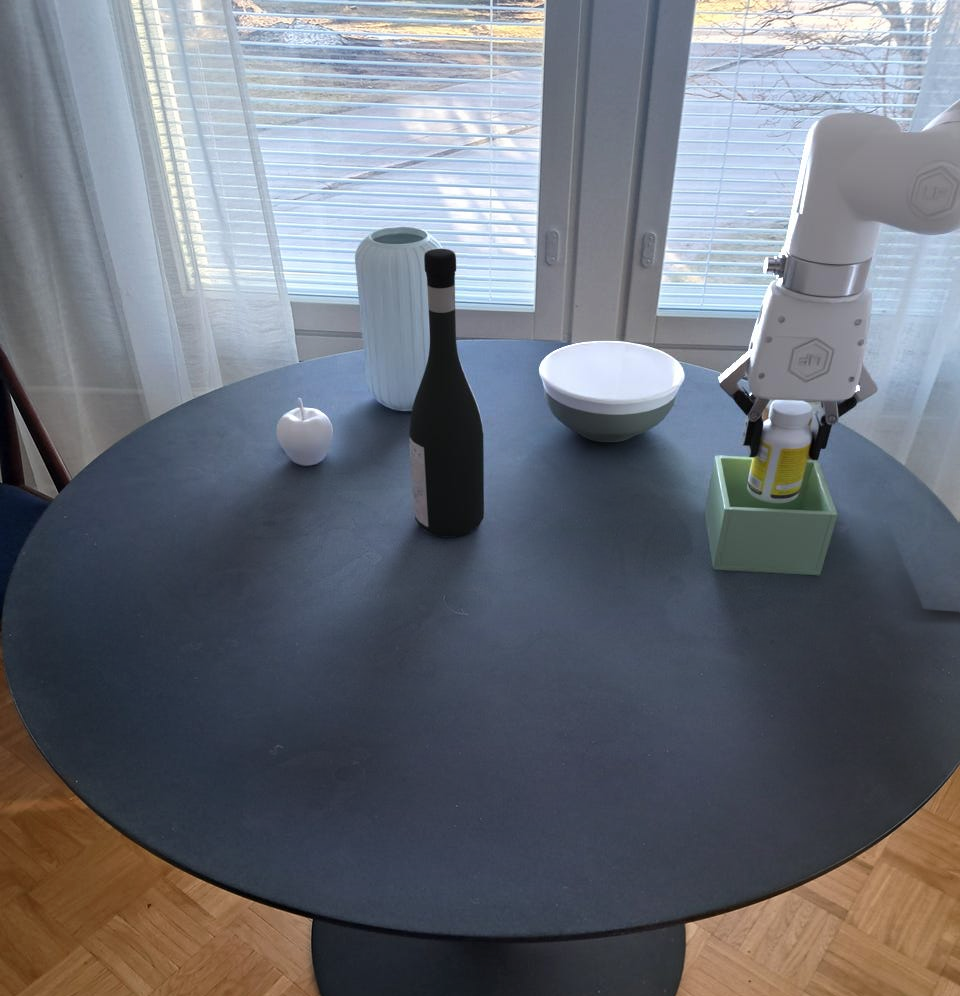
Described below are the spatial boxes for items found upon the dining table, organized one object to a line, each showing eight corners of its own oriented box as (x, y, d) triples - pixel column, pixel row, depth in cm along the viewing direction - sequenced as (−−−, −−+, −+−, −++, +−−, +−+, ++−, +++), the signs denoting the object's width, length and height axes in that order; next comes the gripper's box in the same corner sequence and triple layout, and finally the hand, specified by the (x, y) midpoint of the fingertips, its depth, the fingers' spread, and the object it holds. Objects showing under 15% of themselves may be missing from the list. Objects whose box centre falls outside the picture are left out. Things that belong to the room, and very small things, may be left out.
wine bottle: (408, 538, 102) (388, 264, 82) (421, 501, 108) (406, 237, 88) (479, 543, 101) (476, 268, 81) (488, 506, 107) (488, 240, 87)
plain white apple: (332, 442, 119) (324, 384, 114) (339, 468, 114) (332, 409, 109) (278, 449, 118) (268, 391, 112) (284, 475, 112) (273, 416, 107)
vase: (353, 409, 126) (336, 243, 112) (391, 376, 134) (379, 217, 120) (428, 423, 123) (419, 254, 108) (461, 389, 131) (458, 227, 116)
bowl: (520, 449, 117) (521, 389, 112) (556, 389, 130) (559, 333, 125) (664, 471, 112) (672, 410, 107) (686, 406, 126) (694, 349, 121)
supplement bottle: (805, 488, 97) (827, 402, 90) (787, 510, 93) (809, 424, 87) (757, 473, 99) (775, 389, 93) (738, 495, 96) (755, 410, 89)
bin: (802, 518, 104) (818, 459, 99) (820, 575, 96) (837, 514, 91) (704, 513, 105) (714, 455, 100) (712, 569, 97) (724, 509, 92)
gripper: (730, 284, 79) (699, 467, 91) (933, 290, 78) (875, 475, 89) (722, 256, 85) (694, 431, 97) (910, 261, 83) (859, 438, 95)
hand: (781, 450), depth 93 cm, fingers closed on supplement bottle, 5 cm apart
